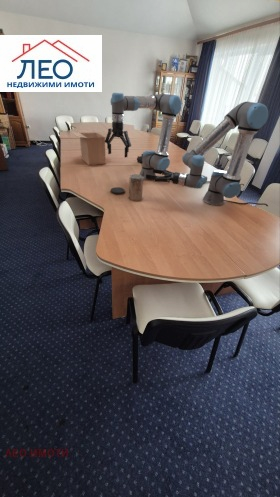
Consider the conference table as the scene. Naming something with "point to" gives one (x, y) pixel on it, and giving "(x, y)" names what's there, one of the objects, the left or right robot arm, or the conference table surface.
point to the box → (92, 146)
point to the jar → (135, 187)
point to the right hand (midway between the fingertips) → (149, 173)
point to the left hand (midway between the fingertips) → (117, 155)
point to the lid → (117, 191)
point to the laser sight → (139, 159)
